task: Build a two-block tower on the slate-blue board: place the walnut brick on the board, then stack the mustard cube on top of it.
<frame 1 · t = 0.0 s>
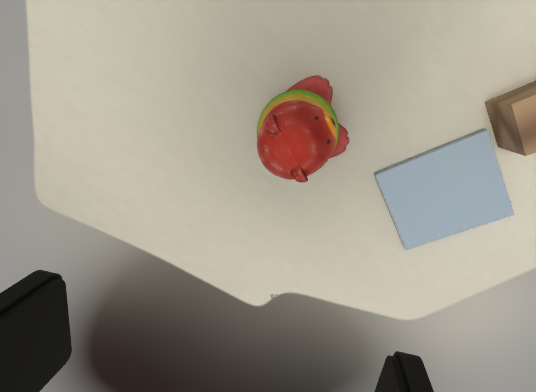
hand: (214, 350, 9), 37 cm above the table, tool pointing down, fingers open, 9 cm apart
stacking bear: (303, 125, 43), on the table
base board: (440, 191, 43), on the table
long brick: (535, 106, 38), on the table
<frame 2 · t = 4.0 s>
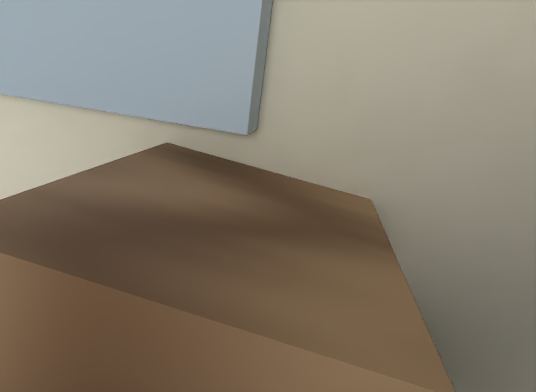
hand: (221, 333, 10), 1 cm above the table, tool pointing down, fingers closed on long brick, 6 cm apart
long brick: (231, 309, 11), on the table, touching gripper
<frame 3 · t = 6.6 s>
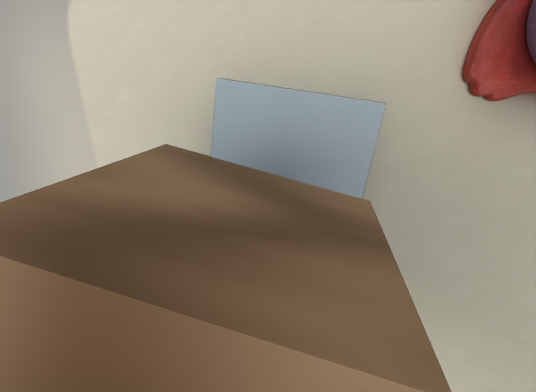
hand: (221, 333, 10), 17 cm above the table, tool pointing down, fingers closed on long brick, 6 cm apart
base board: (285, 180, 26), on the table
long brick: (231, 310, 11), point 16 cm above the table, touching gripper
when the fingers open (3 cm above the table, at t = 9.5 s): long brick drops 1 cm, resting on base board.
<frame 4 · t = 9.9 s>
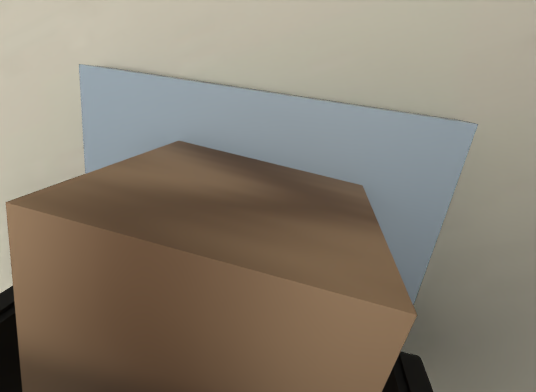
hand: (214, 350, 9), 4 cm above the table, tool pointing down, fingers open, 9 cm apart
base board: (246, 272, 13), on the table
long brick: (240, 291, 12), point 1 cm above the table, touching base board
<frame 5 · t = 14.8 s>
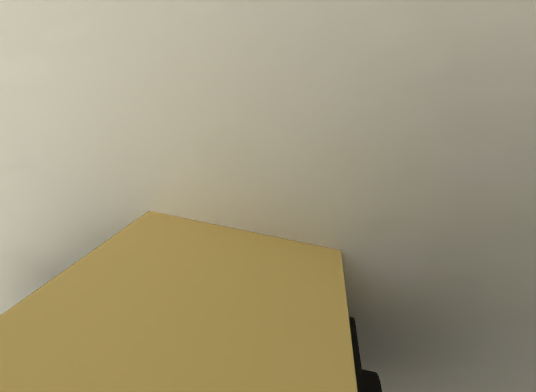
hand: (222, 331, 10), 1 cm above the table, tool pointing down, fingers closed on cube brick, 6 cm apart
cube brick: (231, 310, 11), on the table, touching gripper
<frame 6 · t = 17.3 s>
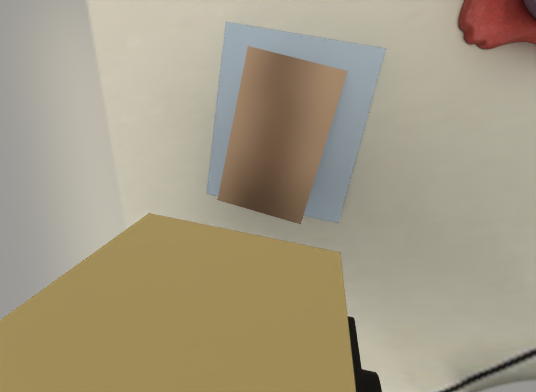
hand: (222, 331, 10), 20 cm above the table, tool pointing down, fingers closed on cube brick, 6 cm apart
base board: (287, 127, 27), on the table
long brick: (286, 130, 26), point 1 cm above the table, touching base board
cube brick: (231, 311, 11), point 19 cm above the table, touching gripper
when the fingers open (9 cm above the table, at t = 20.0 s): cube brick stays where it is, resting on long brick.
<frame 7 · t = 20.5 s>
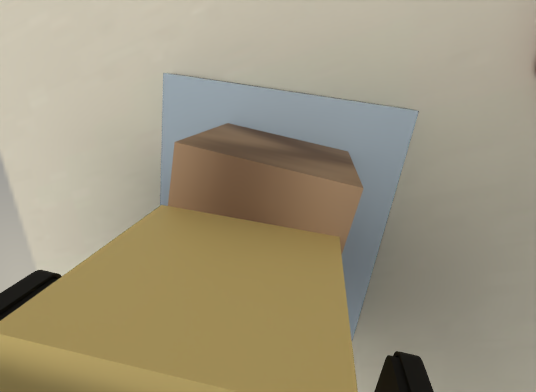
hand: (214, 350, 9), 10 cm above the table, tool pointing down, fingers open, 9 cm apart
base board: (268, 218, 18), on the table
long brick: (266, 228, 17), point 1 cm above the table, touching base board, cube brick
cube brick: (239, 296, 11), point 7 cm above the table, touching long brick
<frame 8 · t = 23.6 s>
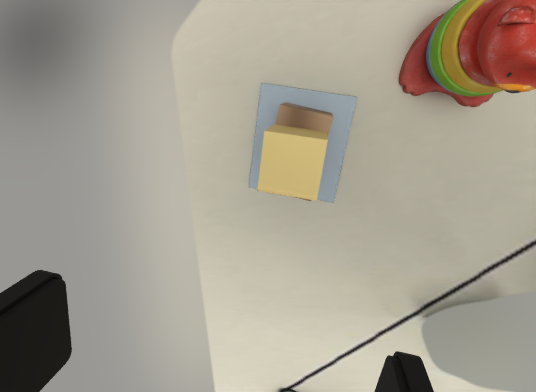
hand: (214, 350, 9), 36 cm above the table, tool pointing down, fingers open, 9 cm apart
stacking bear: (453, 56, 37), on the table
base board: (299, 143, 43), on the table
long brick: (299, 145, 42), point 1 cm above the table, touching base board, cube brick
cube brick: (295, 154, 36), point 7 cm above the table, touching long brick
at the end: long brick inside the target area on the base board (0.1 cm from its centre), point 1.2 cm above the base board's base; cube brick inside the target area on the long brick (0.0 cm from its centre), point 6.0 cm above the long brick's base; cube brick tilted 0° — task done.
